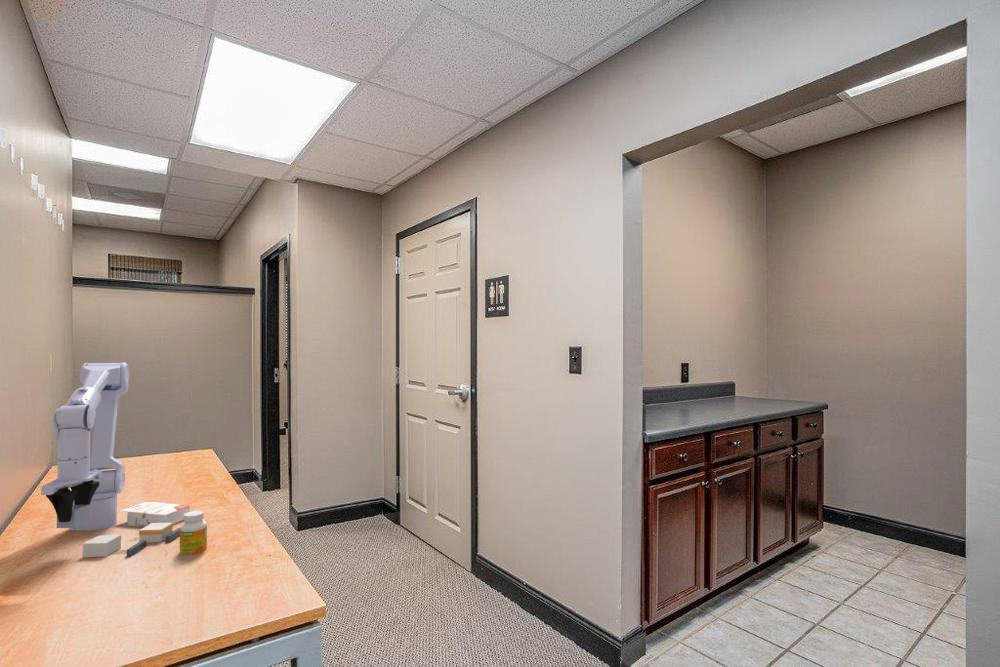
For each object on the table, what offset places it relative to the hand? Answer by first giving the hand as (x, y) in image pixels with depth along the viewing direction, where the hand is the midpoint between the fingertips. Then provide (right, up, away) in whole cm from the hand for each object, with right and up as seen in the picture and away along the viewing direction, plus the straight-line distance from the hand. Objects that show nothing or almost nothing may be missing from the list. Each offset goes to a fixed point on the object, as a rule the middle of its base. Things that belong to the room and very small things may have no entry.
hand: (73, 518), depth 119 cm
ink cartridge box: (+11, -8, +21) cm, 25 cm away
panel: (+10, -10, +6) cm, 15 cm away
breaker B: (+6, -8, +1) cm, 10 cm away
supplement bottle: (+26, -10, +2) cm, 28 cm away
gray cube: (0, -2, 0) cm, 2 cm away
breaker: (+13, -8, +9) cm, 18 cm away
